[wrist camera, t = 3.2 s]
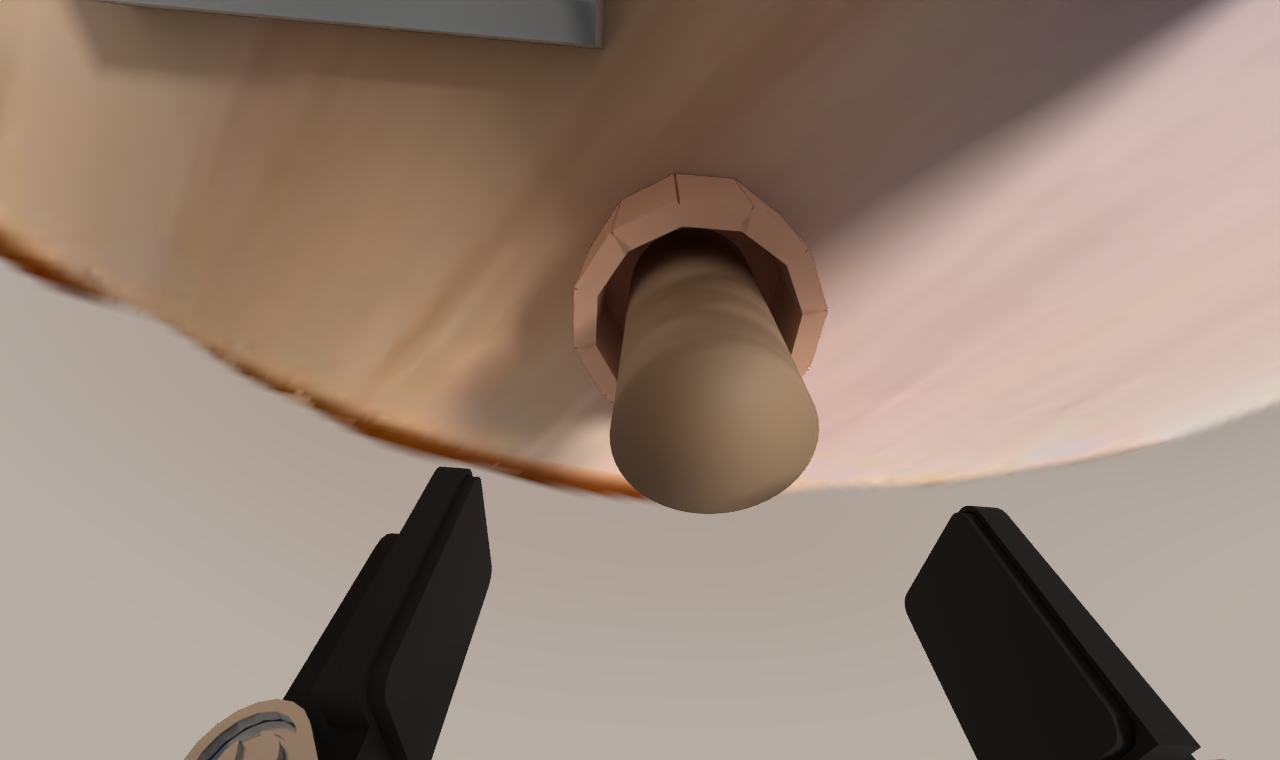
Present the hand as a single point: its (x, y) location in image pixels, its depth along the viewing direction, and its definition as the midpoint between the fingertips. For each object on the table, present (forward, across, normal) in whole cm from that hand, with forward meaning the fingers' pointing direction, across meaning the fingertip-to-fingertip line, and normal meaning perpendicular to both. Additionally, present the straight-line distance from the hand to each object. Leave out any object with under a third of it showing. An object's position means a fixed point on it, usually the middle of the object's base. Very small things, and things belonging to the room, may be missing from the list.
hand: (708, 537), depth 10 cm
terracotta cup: (+13, 0, -1) cm, 13 cm away
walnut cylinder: (+12, 0, -1) cm, 13 cm away
